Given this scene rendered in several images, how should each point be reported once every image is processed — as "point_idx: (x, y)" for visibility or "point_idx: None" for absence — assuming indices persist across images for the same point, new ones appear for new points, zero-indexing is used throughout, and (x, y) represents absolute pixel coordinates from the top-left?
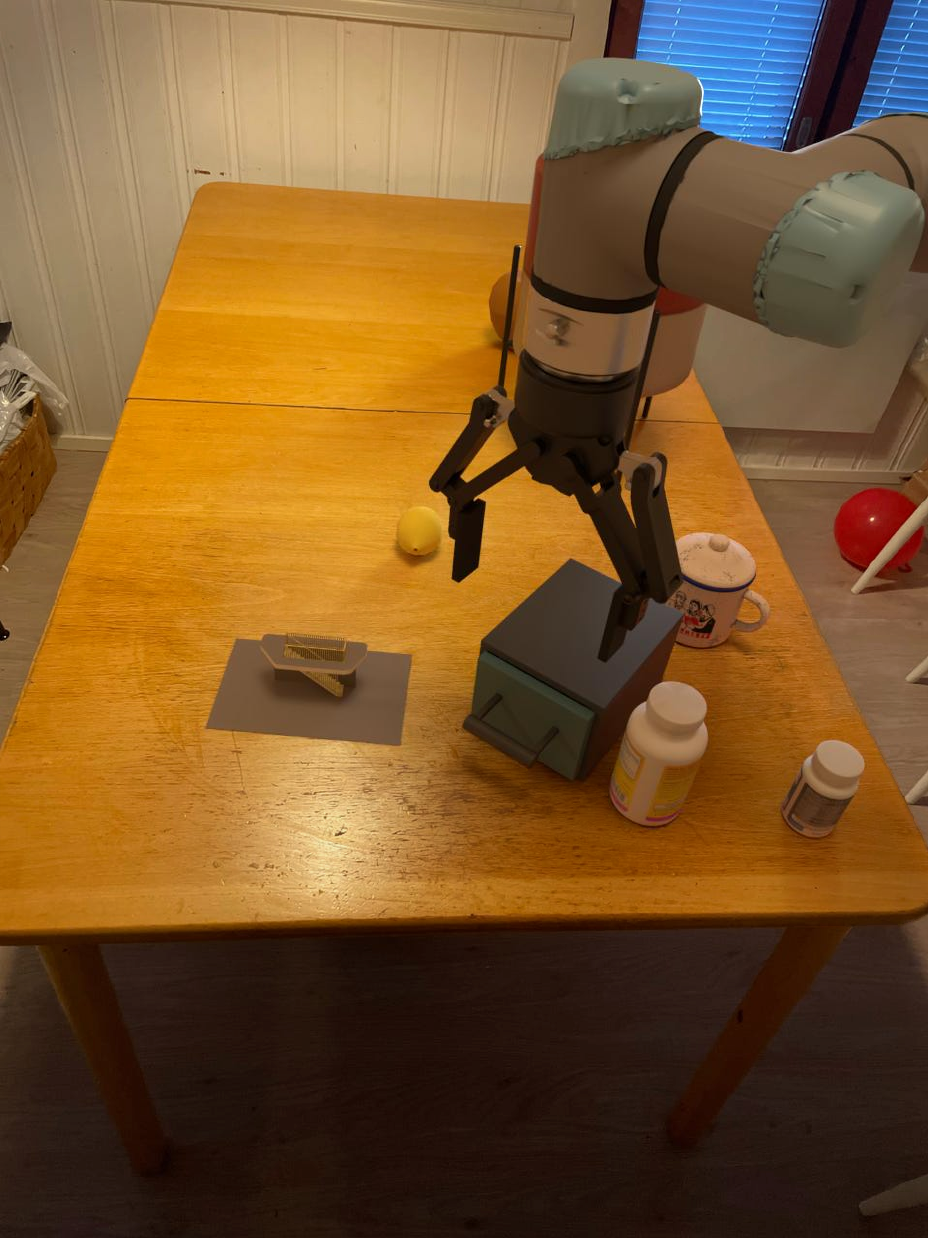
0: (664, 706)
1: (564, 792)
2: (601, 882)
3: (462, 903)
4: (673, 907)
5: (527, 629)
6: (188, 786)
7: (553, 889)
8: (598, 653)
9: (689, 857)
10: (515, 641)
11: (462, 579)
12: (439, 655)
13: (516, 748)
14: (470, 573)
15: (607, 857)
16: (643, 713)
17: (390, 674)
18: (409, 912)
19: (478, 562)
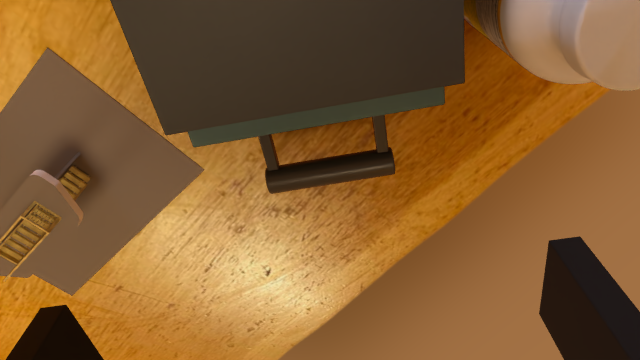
0: (625, 62)
1: None
2: (517, 124)
3: (410, 239)
4: None
5: (189, 33)
6: (139, 329)
7: (475, 169)
8: (547, 328)
9: None
10: (207, 85)
11: (99, 357)
12: (67, 9)
13: (363, 176)
14: (84, 333)
15: (507, 92)
16: (545, 36)
17: (77, 102)
18: (379, 274)
19: (57, 323)
